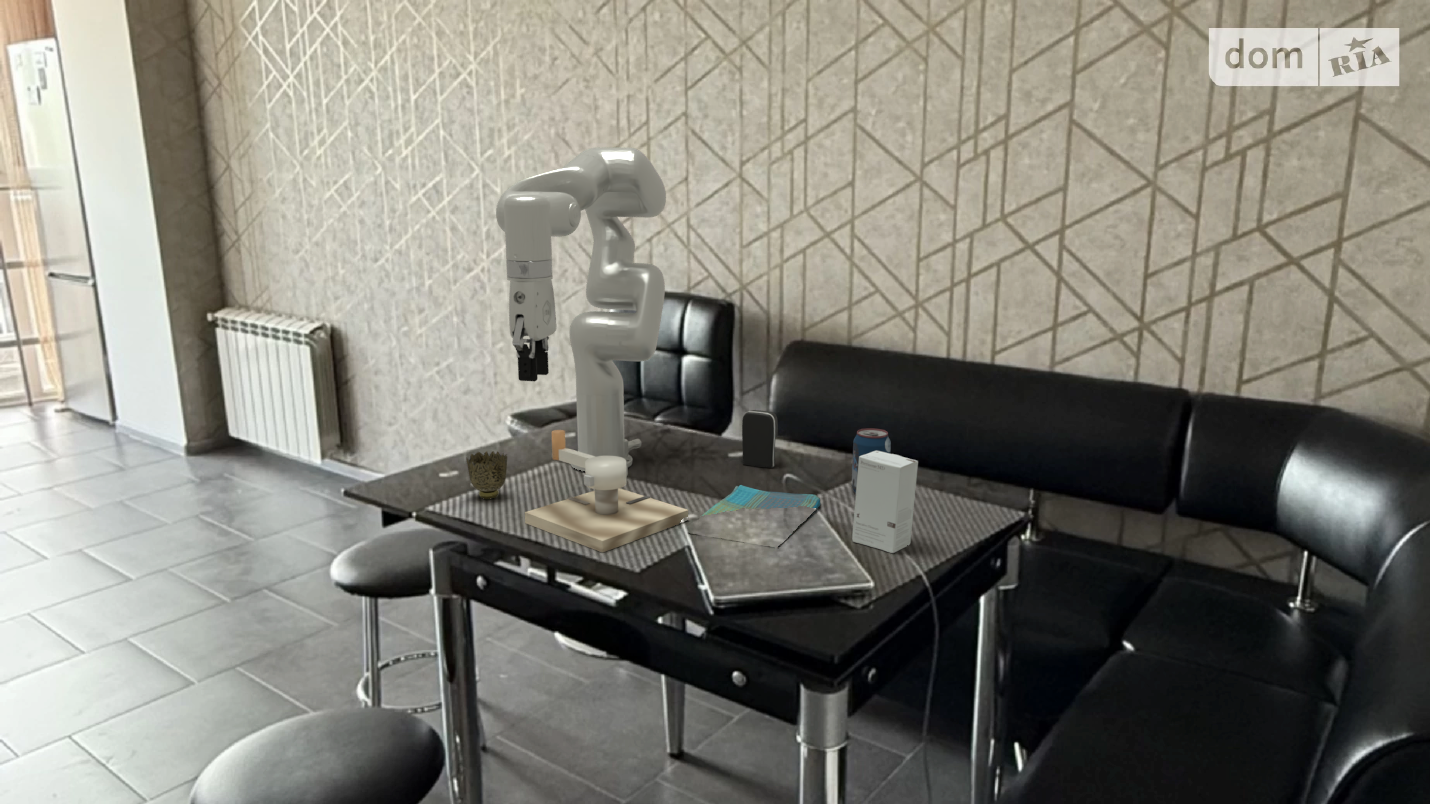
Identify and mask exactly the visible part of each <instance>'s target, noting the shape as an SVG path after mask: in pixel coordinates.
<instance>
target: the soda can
mask: <svg viewBox="0 0 1430 804" xmlns="http://www.w3.org/2000/svg"><path fill="white" fill-rule="evenodd" d="M852 441H853V442H852V443H853V445H852V465H851V466H852V467H851V468H852V469H851V471H852V472H851V473H852V474H851V488H852V490H853V492H854V493H855V495H856V487H857V476H858V464H859V456H862V455H865V454H868V453H870V452H873V451H881V452H885V453H889V454H891V450H892V449H891V445H892V443H891V442H892V441H891V439H890V438H889V432H888V430H887V431H886V430H885V429H880V428H872V427H871V428H866V427H865V428H861V429H858V430H857V431H856V435H855V437H854V439H853V440H852Z"/></svg>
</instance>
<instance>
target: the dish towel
mask: <svg viewBox="0 0 1430 804" xmlns="http://www.w3.org/2000/svg"><path fill="white" fill-rule="evenodd" d="M821 504H822V503H821V499H820V497H819V496H817V494H809V493H789V492H779V491H767V490H761V489H760V490H759V489H755V488H753V487H749V486H746V485H742V484H740V485H739V486H738V485H735V487H734V489H733V490H732V492H731V493H730V494H728V495H727V496H725V498H722V499H721V500H720V501H718V502H717V503H715V504H714V505H713V506H712V507H710V508H709V509H708V510H707V511H705V512H704V513H703V514H701V516H704V515H711V514H717V513H721V512H725V511H736V510H739V509H742V508H746V509H771V508H790V507H798V506H807V507H810V508H817V509H818V508H819V507H820V506H821Z"/></svg>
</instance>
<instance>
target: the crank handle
mask: <svg viewBox="0 0 1430 804" xmlns="http://www.w3.org/2000/svg"><path fill="white" fill-rule="evenodd" d="M551 451H552V452H551V453H552V455H551V458H552V460H554V461H560V462H563V463H567V464H570V465H571V464H573V465H576V466H579V467H583V468H585V474H584V475H583V485H584V486H586V487H587V488H588V489H593V490H595V489H596V490H613V489H618V488H620V489H622V488H623V487H625V486H626V485H627V484H628V483H627V480H628V479H627V476H628V475H629V473H628V472H629V471H628V468H627V466H626V460H625V459H624V458H622V457H618V456H597V457H596V456H592V455H589V454H585V453H582V452H579V451H578V450H574V449H572V448H568V447H566V430H565V429H564V430H563V429H554V430H552V431H551Z"/></svg>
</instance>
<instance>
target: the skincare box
mask: <svg viewBox="0 0 1430 804" xmlns="http://www.w3.org/2000/svg"><path fill="white" fill-rule="evenodd" d="M918 467H919V460H916V459H912V458H908V457H904V456H902V455H899V454H894V453H890V454H889V453H885V452H881V451H873V452H870V453H868V454H865V455H862V456H859V464H858V476H857V487H856V494H855V502H854V511H853V512H854V513H853V521H852V522H853V524H852V535H851V538H852V543H857V544H859V545H860V544H861V545H864V546H867V547H871V548H874V549H879V550H881V551H885V552H887V553H891V554H894V553H897V552H898V551H900V550H902V549H904V548H907V547H908V546H910V545H911V539H912V531H913V530H912V529H913V519H914V509H915V499H916V490H917V489H916V487H917V479H918V478H917V476H918ZM907 545H908V546H907Z"/></svg>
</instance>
